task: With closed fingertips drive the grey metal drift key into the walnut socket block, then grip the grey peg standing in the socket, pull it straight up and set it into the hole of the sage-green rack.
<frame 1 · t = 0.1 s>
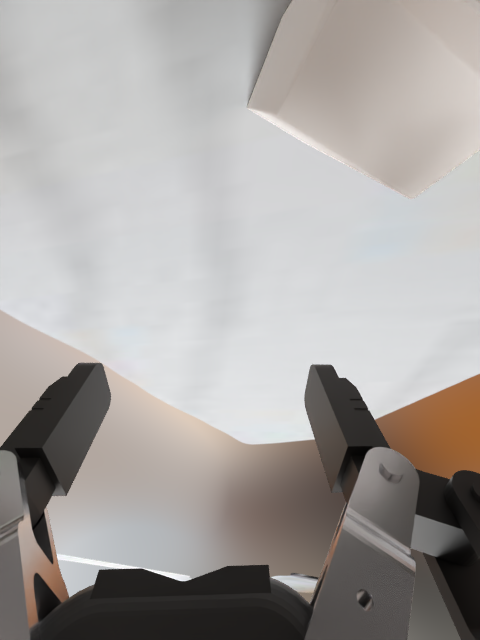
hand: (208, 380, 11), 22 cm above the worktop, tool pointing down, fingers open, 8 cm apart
milk: (294, 86, 23), on the worktop
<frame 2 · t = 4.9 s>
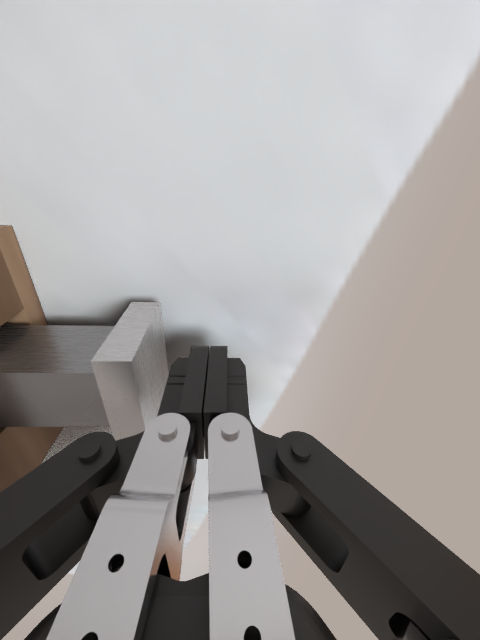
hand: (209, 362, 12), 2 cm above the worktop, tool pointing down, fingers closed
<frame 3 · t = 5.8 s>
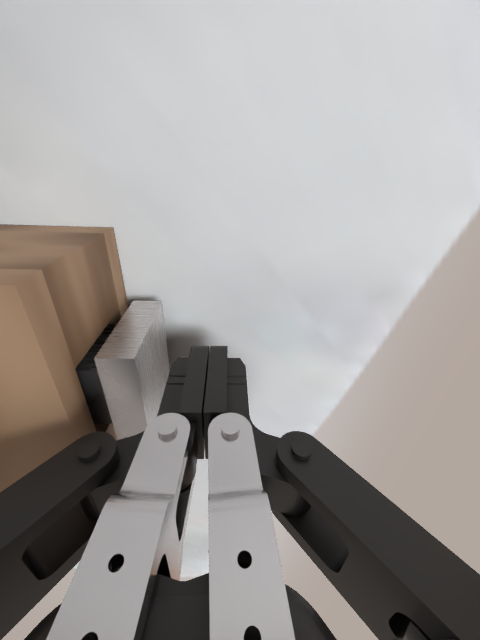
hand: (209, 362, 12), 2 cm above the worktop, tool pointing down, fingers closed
socket block: (7, 330, 13), on the worktop
drift key: (1, 370, 11), point 3 cm above the worktop, slide at 5.3 cm, touching gripper
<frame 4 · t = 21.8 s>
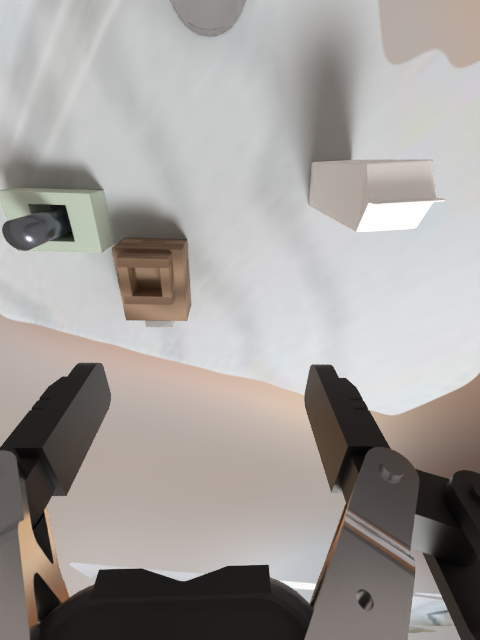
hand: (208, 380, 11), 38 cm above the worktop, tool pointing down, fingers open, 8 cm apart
grey peg: (69, 217, 43), resting in rack
rack: (69, 217, 43), on the worktop
socket block: (160, 273, 48), on the worktop
milk: (329, 183, 42), on the worktop
drift key: (157, 289, 47), point 3 cm above the worktop, slide at 5.4 cm
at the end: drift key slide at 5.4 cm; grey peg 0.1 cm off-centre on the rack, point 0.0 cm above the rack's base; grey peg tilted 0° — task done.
